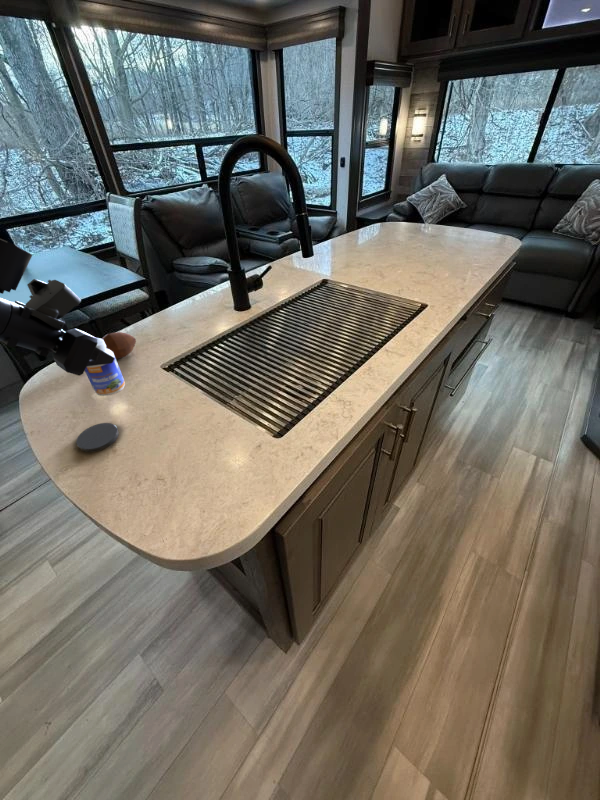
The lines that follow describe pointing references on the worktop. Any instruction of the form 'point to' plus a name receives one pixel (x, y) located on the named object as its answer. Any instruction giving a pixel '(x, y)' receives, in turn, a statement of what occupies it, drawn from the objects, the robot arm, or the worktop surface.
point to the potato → (119, 343)
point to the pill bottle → (105, 375)
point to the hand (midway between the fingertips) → (105, 355)
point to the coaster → (97, 437)
